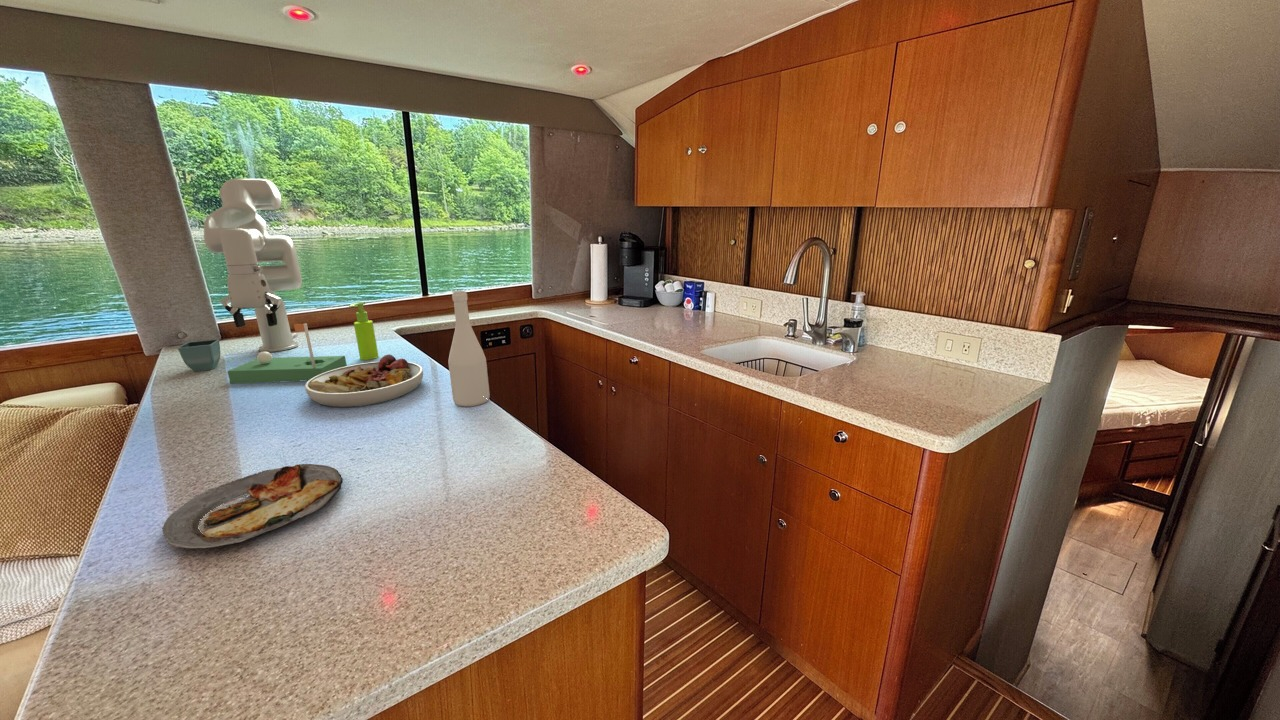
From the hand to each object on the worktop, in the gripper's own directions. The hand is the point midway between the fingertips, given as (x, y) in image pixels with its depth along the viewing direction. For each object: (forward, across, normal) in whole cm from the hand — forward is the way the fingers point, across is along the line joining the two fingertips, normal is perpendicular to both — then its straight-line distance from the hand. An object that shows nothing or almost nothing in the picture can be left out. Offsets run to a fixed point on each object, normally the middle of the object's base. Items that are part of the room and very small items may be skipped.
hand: (257, 326), depth 155 cm
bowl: (+18, -39, +18) cm, 46 cm away
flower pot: (+16, +27, -11) cm, 34 cm away
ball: (+10, 0, 0) cm, 10 cm away
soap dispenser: (+16, -23, -19) cm, 34 cm away
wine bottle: (+18, -72, +29) cm, 79 cm away
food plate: (+18, -49, +78) cm, 94 cm away
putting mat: (+16, -7, -1) cm, 18 cm away
